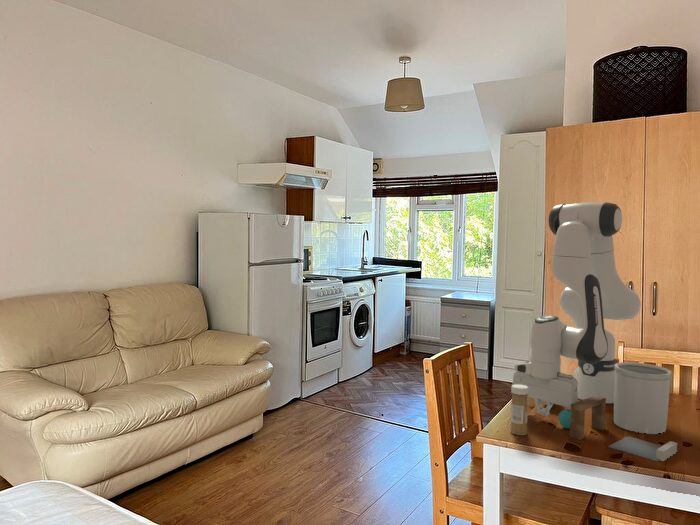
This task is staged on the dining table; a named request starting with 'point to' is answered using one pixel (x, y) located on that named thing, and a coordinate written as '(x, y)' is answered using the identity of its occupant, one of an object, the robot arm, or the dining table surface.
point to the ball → (565, 418)
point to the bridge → (579, 415)
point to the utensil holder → (641, 397)
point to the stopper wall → (666, 451)
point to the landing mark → (637, 447)
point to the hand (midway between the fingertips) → (543, 414)
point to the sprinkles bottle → (519, 409)
